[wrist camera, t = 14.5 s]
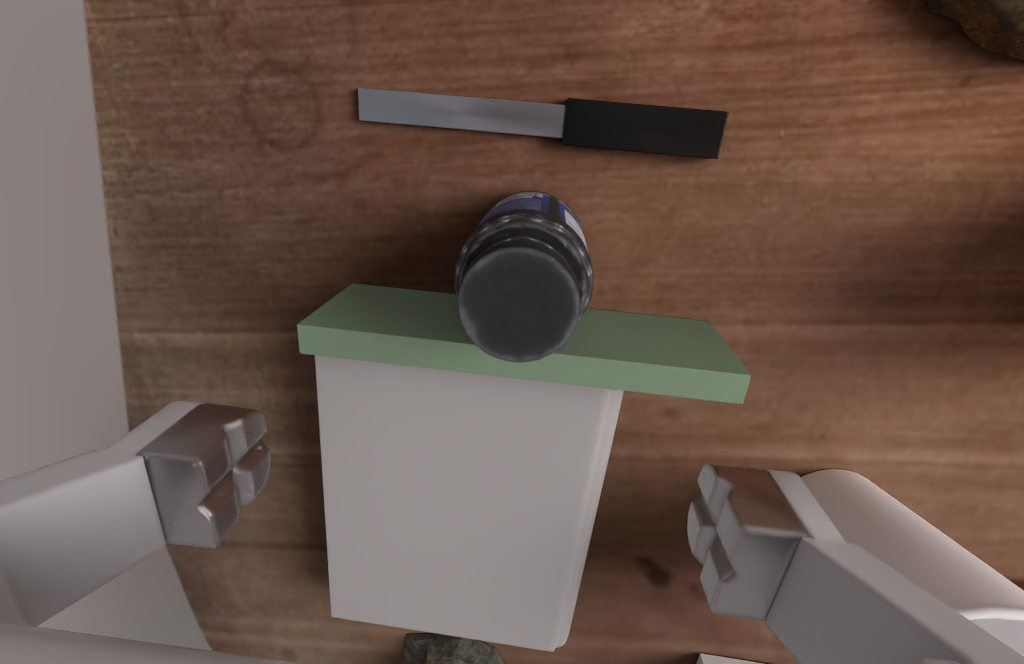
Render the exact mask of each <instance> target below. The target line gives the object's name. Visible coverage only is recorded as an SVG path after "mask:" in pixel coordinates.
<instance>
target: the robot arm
mask: <svg viewBox="0 0 1024 664" xmlns="http://www.w3.org/2000/svg"><path fill="white" fill-rule="evenodd" d="M266 431H267V428H266V423H265V418H264V415H263V414H262V413H261V412H259V411H258V410H253V409H246V408H239V407H231V406H224V405H217V404H210V403H202V402H194V401H185V400H179V401H172V402H171V403H169V404H168V405H167V406H165V407H164V408H162V409H161V410H160V411H158V412H157V413H155V414H154V415H153V416H151V417H150V418H149V419H147V420H146V421H144V422H143V423H142V424H140V425H139V426H137V427H136V428H135V429H133V430H132V431H130V432H129V433H128V434H126V435H125V436H123V437H122V438H121V439H119V440H118V441H116V442H115V443H114V444H112V445H111V446H110V447H108V448H107V449H105V450H104V451H95V450H93V451H90V452H87V453H84V454H81V455H78V456H75V457H72V458H69V459H66V460H63V461H60V462H57V463H54V464H51V465H48V466H45V467H42V468H39V469H36V470H33V471H30V472H27V473H24V474H21V475H18V476H15V477H12V478H9V479H6V480H2V481H0V664H301V663H294V662H287V661H280V660H273V659H265V658H258V657H251V656H244V655H236V654H229V653H222V652H215V651H207V650H200V649H193V648H186V647H179V646H170V645H164V644H156V643H149V642H142V641H135V640H128V639H121V638H114V637H106V636H99V635H91V634H84V633H77V632H70V631H63V630H55V629H48V628H41V627H36V626H38V625H39V624H41V623H43V622H44V621H46V620H47V619H49V618H51V617H52V616H54V615H56V614H57V613H59V612H61V611H62V610H64V609H65V608H67V607H69V606H70V605H72V604H74V603H75V602H77V601H78V600H80V599H82V598H83V597H85V596H87V595H88V594H90V593H91V592H93V591H95V590H96V589H98V588H100V587H101V586H102V585H104V584H106V583H108V582H109V581H111V580H112V579H114V578H116V577H117V576H119V575H120V574H122V573H124V572H125V571H127V570H129V569H130V568H132V567H134V566H135V565H137V564H138V563H140V562H142V561H143V560H145V559H147V558H148V557H150V556H151V555H153V554H155V553H156V552H158V551H160V550H161V549H163V548H164V547H166V546H167V544H177V545H188V546H198V547H208V548H217V547H218V546H219V544H220V543H221V542H222V541H223V539H224V538H225V537H226V536H227V535H228V533H229V532H230V531H231V530H232V528H233V527H234V526H235V525H236V523H237V522H238V521H239V520H240V512H239V508H241V507H243V506H245V505H247V504H249V503H251V502H252V501H254V500H255V499H256V498H257V497H258V495H259V494H260V493H261V491H262V490H263V489H264V487H265V484H266V482H267V479H268V476H269V474H270V466H271V456H270V450H269V448H268V447H267V446H266V445H265V444H264V443H263V441H262V440H261V437H262V436H263V435H264V433H265V432H266ZM697 482H698V484H699V487H700V489H701V492H702V493H701V494H700V495H699V496H697V497H696V498H695V499H694V500H692V501H691V505H690V509H689V513H688V524H687V533H688V540H689V545H690V548H691V551H692V554H693V556H694V557H695V558H696V559H697V560H698V561H699V562H700V563H701V564H702V565H704V566H703V569H702V572H701V575H700V579H701V582H702V585H703V588H704V591H705V594H706V597H707V600H708V603H709V606H710V609H711V612H712V613H717V614H723V615H729V616H736V617H742V618H748V619H755V620H761V621H765V623H764V624H765V625H766V626H767V627H768V628H769V629H770V631H771V632H772V633H773V634H774V635H775V636H776V637H777V638H778V640H779V641H780V642H781V643H782V644H783V645H784V646H785V647H786V648H787V650H788V651H789V652H790V653H791V654H792V655H793V656H794V657H795V659H796V660H797V661H798V662H799V663H800V664H1024V657H1023V656H1022V655H1020V654H1019V653H1017V652H1016V651H1014V650H1013V649H1011V648H1010V647H1008V646H1007V645H1006V644H1004V643H1003V642H1001V641H1000V640H998V639H997V638H995V637H994V636H992V635H991V634H989V633H988V632H986V631H985V630H983V629H982V628H980V627H979V626H977V625H976V624H974V623H973V622H971V621H970V620H968V619H967V618H965V617H964V616H962V615H961V614H959V613H958V612H956V611H955V610H954V609H952V608H951V607H949V606H948V605H946V604H945V603H943V602H942V601H940V600H939V599H937V598H936V597H934V596H933V595H931V594H930V593H928V592H927V591H925V590H924V589H922V588H921V587H919V586H918V585H916V584H915V583H913V582H912V581H910V580H909V579H907V578H906V577H904V576H903V575H902V574H900V573H899V572H897V571H896V570H894V569H893V568H891V567H890V566H888V565H887V564H885V563H884V562H882V561H881V560H879V559H878V558H876V557H875V556H873V555H872V554H870V553H869V552H867V551H866V550H864V549H863V548H861V547H860V546H858V545H857V544H853V543H846V542H845V540H844V539H843V537H842V536H841V534H840V533H839V532H838V530H837V529H836V527H835V526H834V525H833V523H832V522H831V520H830V519H829V518H828V516H827V515H826V513H825V512H824V510H823V509H822V508H821V506H820V505H819V503H818V502H817V501H816V499H815V498H814V496H813V495H812V493H811V492H810V491H809V489H808V488H807V486H806V485H805V484H804V482H803V481H802V479H801V478H800V477H799V476H798V475H797V474H795V473H794V472H791V471H779V470H768V469H763V470H759V469H750V468H741V467H732V466H723V465H714V464H705V465H704V467H703V468H702V470H701V472H700V475H699V478H698V481H697ZM166 543H167V544H166Z"/></svg>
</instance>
